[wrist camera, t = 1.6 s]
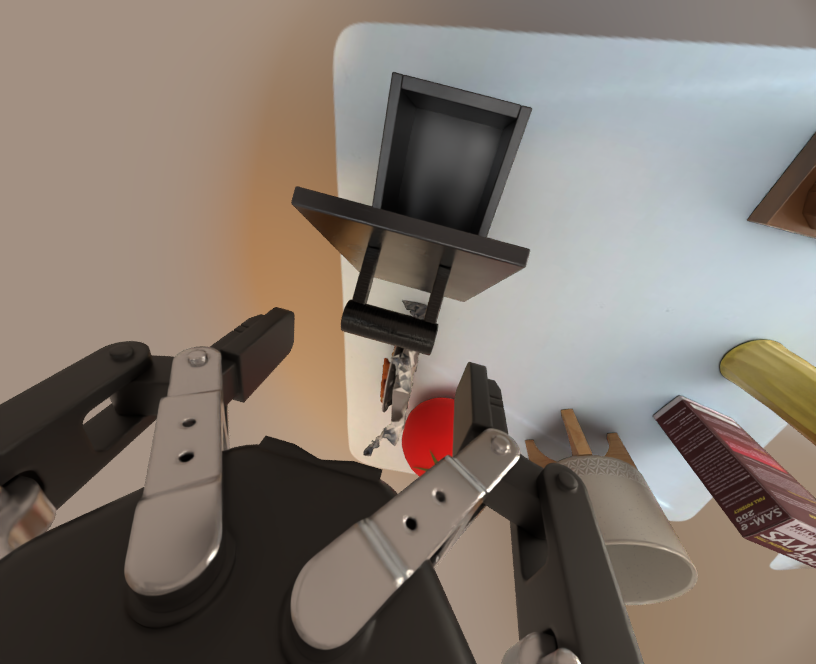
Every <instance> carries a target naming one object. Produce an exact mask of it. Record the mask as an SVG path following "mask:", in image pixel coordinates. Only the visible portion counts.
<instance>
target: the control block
mask: <svg viewBox="0 0 816 664" xmlns="http://www.w3.org/2000/svg"><path fill="white" fill-rule="evenodd" d="M747 221H750V222H754V223H758V224H762V225H765V226H769V227H773V228H777V229H781V230H784V231H788V232H792V233H796V234H800V235H803V236H807V237H811V238H815V239H816V133H815V134H814V136H813V137H812V138H811V139H810V141H809V142H808V143H807V145H806V146H805V147H804V148H803V150H802V151H801V152H800V153H799V155H798V156H797V157H796V158H795V160H794V161H793V162H792V164H791V165H790V166H789V167H788V169H787V170H786V171H785V172H784V174H783V175H782V176H781V177H780V179H779V180H778V181H777V183H776V184H775V185H774V186H773V188H772V189H771V190H770V191H769V193H768V194H767V195H766V196H765V198H764V199H763V200H762V202H761V203H760V204H759V205H758V207H757V208H756V209H755V210H754V212H753V213H752V214H751V215H750V217H749V218H748V219H747Z"/></svg>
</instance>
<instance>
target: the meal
mask: <svg viewBox="0 0 816 664" xmlns="http://www.w3.org/2000/svg"><path fill="white" fill-rule="evenodd" d="M402 302H403V303H404V305H405V308H406V309H407V310H411V311H410V313H411V314H412V316H413V317H416V318H419V319H423V320H424V316H425V312H426V309H427V306H426V305H423V304H420V303H416V302H409V301H403V300H402ZM394 348H395V349H394V352H393V353H392V359H391V363H389V361H388V358H384V365H383V374H382V382H381V395H380V397H381V402H382V403H383V404H382V411H383V412H385V411H386V410H387V409H388V407H389V406H390V405H392V417H391V424H389V425H388V426H387V427H385V428H384V431H382V433H381V436H378V437H376V440H375V441H373V440H372V442H373V443H372V444H370V445H369V446H368V447H367V448H366V449H365V450H364V455H365V456H371V454H372V451H373V449H374V448H378V447H379V440H381V439H382V438H387V439H388V440H389V441H390V442H391V443H392V444H393V445H394V446H395V445H396V443H397V442H398V440H399V436H400V432H401V431H402V430H403V429H405V428H404V427H405V423H406V409H408V401H409V398H410V393H411V387H412V385H413V382H412V381H413V375H414V372H416V370H417V363H418V355H419V352H415V351H412V350H408V349H404V348H401V347H397V346H395V347H394Z"/></svg>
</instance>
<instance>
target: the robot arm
mask: <svg viewBox="0 0 816 664" xmlns="http://www.w3.org/2000/svg"><path fill="white" fill-rule="evenodd" d="M293 343H294V313H293V312H292V311H289V310H285V309H282V308H278V307H275V308H273V309H272V310H270V311H269V312H268V313H267V314H265V315H262V314H261V315H257V316H254V317H252V318H249V319H248V320H246V321H245V322H244V323H242V324H241V326H238V327H237V328H235V329H234V331H231V332H230V333H228V334H227V335H226V336H224V337H223V338H221V339H220V340H219V341H217V342H216V343H214V344H213V345H212V346H210V347H194V348H189V349H186V350H183V351H182V352H180V353H178V354H177V355H176V356H175V357H170V356H152V355H151V353H150V350H149V347H148V346H147V345H146V344H144V343H141V342H135V341H126V342H119V343H114V344H111V345H108V346H105V347H103V348H101V349H99V350H98V351H96V352H94V353H92V354H90V355H89V356H87V357H85V358H84V359H82V360H80V361H78V362H76V363H74V364H73V365H71V366H69V367H67V368H65V369H63V370H62V371H60V372H58V373H56V374H54V375H53V376H51V377H49V378H47V379H45V380H44V381H42V382H40V383H38V384H37V385H35V386H33V387H31V388H29V389H27V390H26V391H24V392H22V393H20V394H19V395H17V396H15V397H13V398H12V399H9V400H8V401H6V402H4V403H2V404H1V405H0V664H476V661H475V659H474V657H473V654H472V652H471V650H470V648H469V646H468V643H467V641H466V639H465V637H464V634H463V632H462V630H461V628H460V625H459V623H458V621H457V619H456V616H455V614H454V612H453V610H452V608H451V605H450V603H449V601H448V599H447V596H446V594H445V592H444V590H443V587H442V585H441V583H440V581H439V578H438V576H437V574H436V572H435V568H436V566H437V565H438V564H439V563H440V562H441V561H442V559H443V558H444V557H445V556H446V554H447V553H448V552H449V551H450V549H451V548H452V547H453V545H454V544H455V543H456V541H457V540H458V539H459V538H460V536H461V535H462V534H463V533H464V532H465V531H466V529H467V528H468V527H469V526H470V525H471V524H472V522H473V521H474V520H475V519H476V518H477V517H478V515H479V514H480V513H481V512H482V511H483V510H484V508H485V507H486V506H488V507H489V508H491V509H493V510H494V511H496V512H497V513H499V514H500V515H502V516H503V517H505V518H506V519H508V520H510V528H511V541H512V553H513V566H514V579H515V592H516V605H517V618H518V631H519V642H517V643H516V644H515V645H513V646H512V647H510V648H509V649H508V650H507V651H506V653H505V655H504V657H503V659H502V663H501V664H644V662H643V659H642V656H641V653H640V650H639V647H638V643H637V640H636V638H635V634H634V631H633V629H632V625H631V622H630V619H629V616H628V613H627V610H626V607H625V604H624V601H623V598H622V595H621V591H620V588H619V585H618V582H617V579H616V576H615V573H614V570H613V567H612V564H611V561H610V558H609V555H608V552H607V549H606V546H605V543H604V539H603V536H602V533H601V530H600V527H599V524H598V521H597V518H596V515H595V512H594V509H593V506H592V503H591V500H590V497H589V494H588V491H587V488H586V486H585V484H584V482H583V481H582V479H581V478H580V477H579V476H578V475H577V474H576V473H575V472H574V471H572V470H571V469H570V468H568V467H566V466H564V465H562V464H559V463H549V464H547V465H546V466H545V467H544V468H542V467H541V466H539V465H537V464H535V463H534V462H532V461H530V460H528V459H527V458H525V457H524V456H522V455H521V454H520V450H519V447H518V445H517V443H516V442H515V441H514V439H513V438H512V437H510V436H509V435H508V429H507V424H506V418H505V412H504V408H503V407H504V406H503V401H502V394H501V390H500V388H499V386H498V385H497V383H496V382H495V381H494V380H490V379H487V370H486V366H483V365H479V364H475V363H472V362H468V364H467V366H466V368H465V371H464V373H463V375H462V378H461V380H460V383H459V385H458V387H457V390H456V394H455V399H454V424H453V454H452V457H451V456H450V455H446V456H445V457H443V458H442V459H441V460H440V461H438V462H437V463H436V464H435V465H433V466H432V467H431V468H430V469H428V470H427V471H426V472H425V473H423V474H422V475H421V476H420V477H419V478H418V479H416V480H415V481H414V482H412V483H411V484H410V485H409V486H407V487H406V488H405V489H404V490H403V491H401V492H400V493H399V494H397V493H396V491H394V489H392V488H391V487H390V486H389V485H388V484H386V483H385V482H384V481H382V480H381V479H380V477H381V473H382V469H378V468H375V467H372V466H368V465H365V464H361V463H358V462H354V461H337V460H321V459H319V458H317V457H315V456H313V455H312V454H310V453H308V452H307V451H305V450H303V449H302V448H300V447H299V446H297V445H295V444H293V443H289V442H286V441H282V440H279V439H276V438H272V437H268V436H265V437H264V439H263V440H262V441H261V443H260V444H259V445H257V444H256V445H244V446H239V447H234V448H231V449H230V444H229V421H228V406H227V404H228V403H229V402H230V401H231V400H232V399H233V400H237V401H240V402H245V401H246V400H247V399H248V398H249V396H250V395H251V394H252V393H253V392H254V391H255V390H256V389H257V388H258V387H259V385H260V384H261V383H262V382H263V381H264V380H265V379H266V378H267V377H268V376H269V375H270V373H271V372H272V371H273V370H274V369H275V368H276V367H277V366H278V365H279V363H281V361H282V360H283V359H284V358H285V357H286V356H287V355H288V354H289V353H290V351H291V349H292V346H293ZM109 397H110V399H111V402H112V404H110V405H109V406H108V407H106V408H105V409H104V410H102V411H101V412H100V413H98V414H97V415H96V416H94V417H93V418H92V419H90V420H89V421H87V422H86V423H85V424H84V425H83V420H84V418H85V416H86V415H87V414H88V413H89V411H91V410H92V409H93V408H95V407H96V406H97V405H99V404H100V403H102V402H103V401H104V400H105V399H107V398H109ZM156 419H157V420H156ZM155 420H156V425H155V431H154V437H153V442H152V448H151V453H150V459H149V464H148V470H147V476H146V481H145V487H143V488H141V489H139V490H137V491H135V492H132V493H130V494H128V495H126V496H124V497H121V498H119V499H117V500H115V501H112V502H110V503H108V504H106V505H104V506H102V507H100V508H97V509H95V510H93V511H91V512H89V513H86V514H84V515H82V516H80V517H77V518H75V519H73V520H71V521H69V522H67V523H64V524H62V525H60V526H58V527H56V528H53V529H51V530H49V531H47V530H48V528H49V527H50V526H51V524H52V523H53V521H54V519H55V516H56V510H57V509H58V508H60V507H61V506H62V505H63V504H64V503H65V502H66V501H67V500H68V499H69V498H71V497H72V496H73V495H74V494H75V493H76V492H77V491H78V490H79V489H80V488H82V486H84V485H85V484H86V483H87V482H88V481H89V480H90V479H91V478H92V477H94V476H95V475H96V474H97V473H98V472H99V471H100V470H101V469H102V468H103V467H105V466H106V465H107V464H108V463H109V462H110V461H111V460H112V459H113V458H114V457H115V456H117V455H118V454H119V453H120V452H121V451H122V450H123V449H124V448H125V447H126V446H127V445H129V444H130V443H131V442H132V441H133V440H134V439H135V438H136V437H137V436H138V435H140V434H141V433H142V432H143V431H144V430H145V429H146V428H147V427H148V426H149V425H151V424H152V423H153V422H154V421H155ZM46 531H47V532H46Z"/></svg>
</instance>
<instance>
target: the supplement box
mask: <svg viewBox="0 0 816 664" xmlns="http://www.w3.org/2000/svg"><path fill="white" fill-rule="evenodd" d="M653 417H654V419H655V420H656V421H657V422H658V424H659V425H660V427H661V428H662V429H663V431H664V432H665V433H666V435H667V436H668V437H669V439H670V440H671V441H672V443H673V444H674V445H675V447H676V448H677V449H678V451H679V452H680V453H681V455H682V456H683V457H684V459H685V460H686V461H687V463H688V464H689V465H690V467H691V468H692V469H693V471H694V472H695V474H696V475H697V476H698V478H699V479H700V480H701V481H702V483H703V484H704V486H705V487H706V488H707V490H708V491H709V492H710V494H711V495H712V496H713V498H714V499H715V500H716V502H717V503H718V504H719V506H720V507H721V508H722V510H723V511H724V512H725V514H726V515H727V516H728V518H729V519H730V521H731V522H732V523H733V524H734V526H735V527H736V528H737V530H738V531H739V533H740V534H741V535H742V537H743V538H745V539H747V540H749V541H752V542H754V543H757V544H759V545H762V546H764V547H766V548H769V549H771V550H773V551H776V552H778V553H781V554H783V555H785V556H788V557H790V558H792V559H795V560H797V561H800V562H802V563H804V564H807V565H809V566H811V567H814V568H816V498H815V497H814V496H813V495H811V494H810V493H809V492H808V491H807V490H806V489H805V488H804V487H803V486H802V485H801V484H800V483H799V482H797V480H796V479H795V478H794V477H793V476H792V475H790V474H789V473H788V472H787V471H786V470H785V469H784V468H783V467H782V466H781V465H780V464H779V463H778V462H777V461H776V460H775V459H774V458H773V457H771V455H770V454H768V453H767V452H766V451H765V450H764V449H763V448H762V447H761V446H760V445H759V444H758V443H757V442H756V441H755V440H754V439H753V438H752V437H751V436H750V435H749V434H748V433H746V432H745V431H744V430H743V429H742V428H741V427H740V426H739V425H738V424H737V423H736V422H735V421H734V420H733V419H732V418H730V417H727V416H725V415H723V414H721V413H718V412H716V411H714V410H712V409H709V408H707V407H705V406H703V405H700V404H698V403H696V402H694V401H692V400H689V399H687V398H685V397H682V396H678V397H676V398H675V399H674V400H672V401H671V402H670V403H668V404H667V405H666V406H665V407H663V408H662V409H661V410H660V411H658V412H657V413H656V414H655V415H654V416H653Z"/></svg>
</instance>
